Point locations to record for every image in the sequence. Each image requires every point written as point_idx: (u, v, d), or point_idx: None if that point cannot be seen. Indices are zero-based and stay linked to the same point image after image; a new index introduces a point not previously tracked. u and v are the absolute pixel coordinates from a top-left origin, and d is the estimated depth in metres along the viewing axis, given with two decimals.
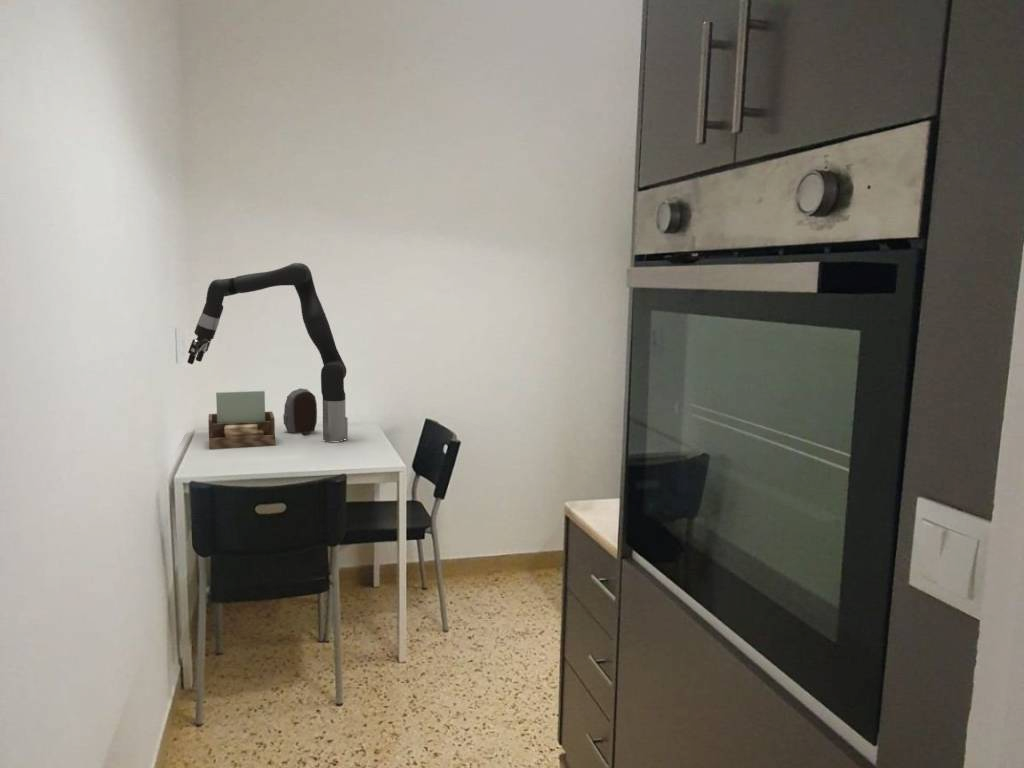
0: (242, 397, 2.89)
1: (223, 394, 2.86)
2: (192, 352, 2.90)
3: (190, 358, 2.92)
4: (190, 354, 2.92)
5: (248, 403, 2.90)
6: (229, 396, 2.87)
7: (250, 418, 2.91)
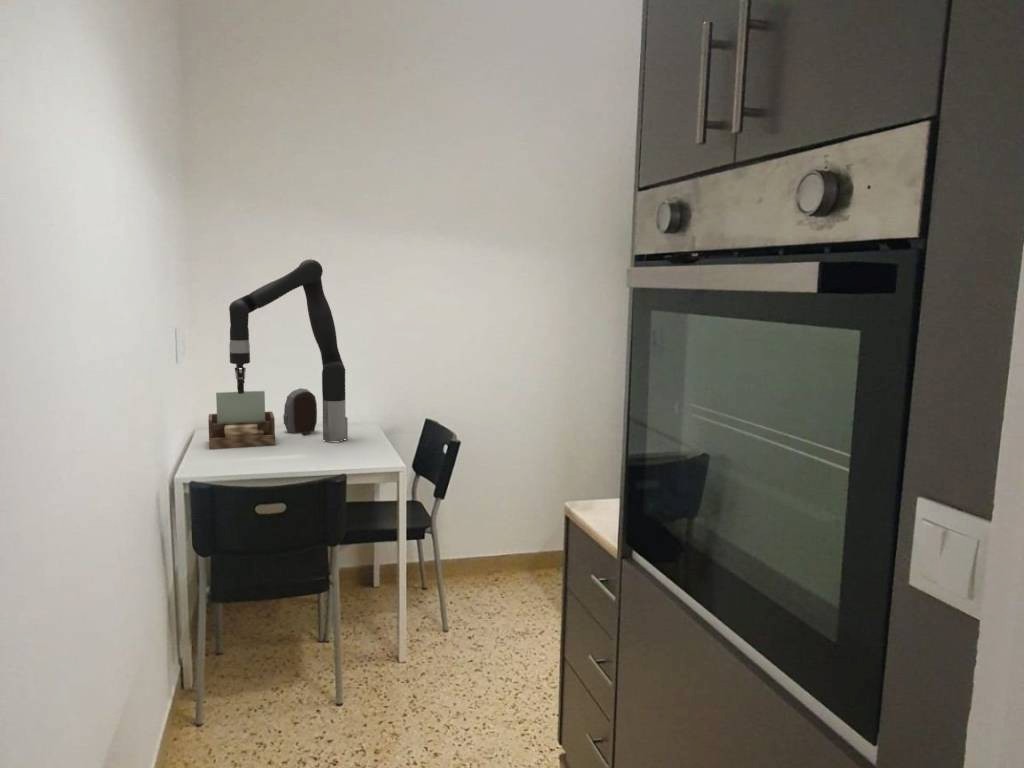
0: (242, 397, 2.89)
1: (223, 394, 2.86)
2: (241, 381, 2.82)
3: (240, 388, 2.84)
4: (239, 384, 2.83)
5: (248, 403, 2.90)
6: (229, 396, 2.87)
7: (250, 418, 2.91)
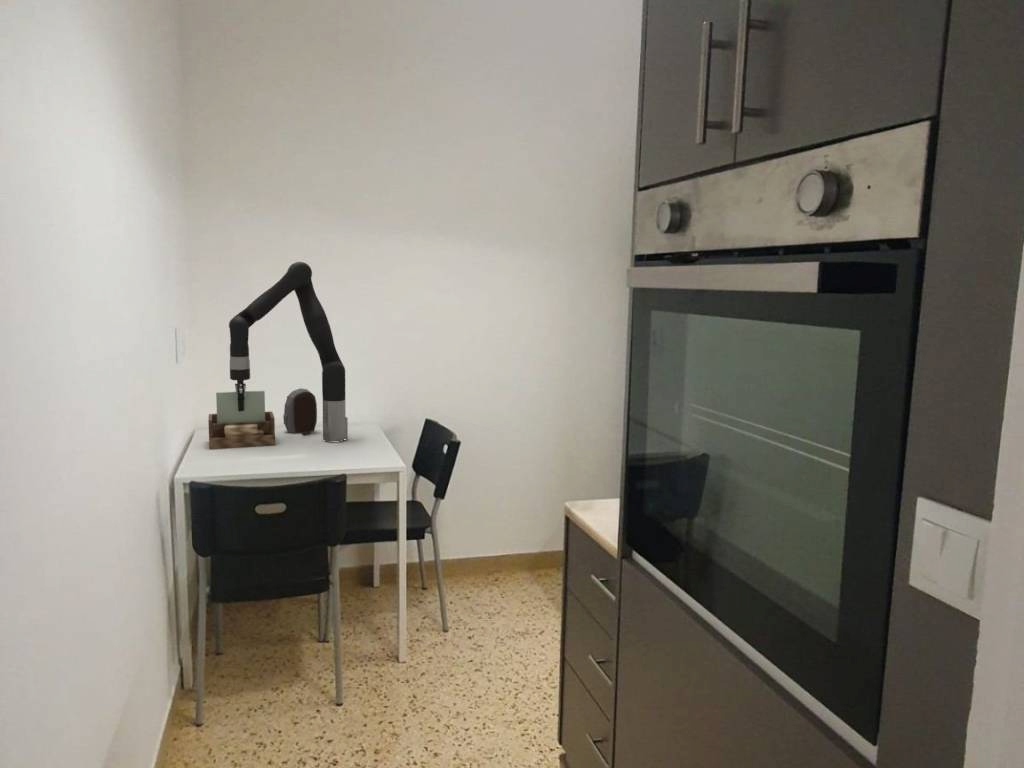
0: (242, 397, 2.89)
1: (223, 394, 2.86)
2: (242, 399, 2.86)
3: (240, 405, 2.88)
4: (239, 402, 2.87)
5: (248, 403, 2.90)
6: (229, 396, 2.87)
7: (250, 418, 2.91)
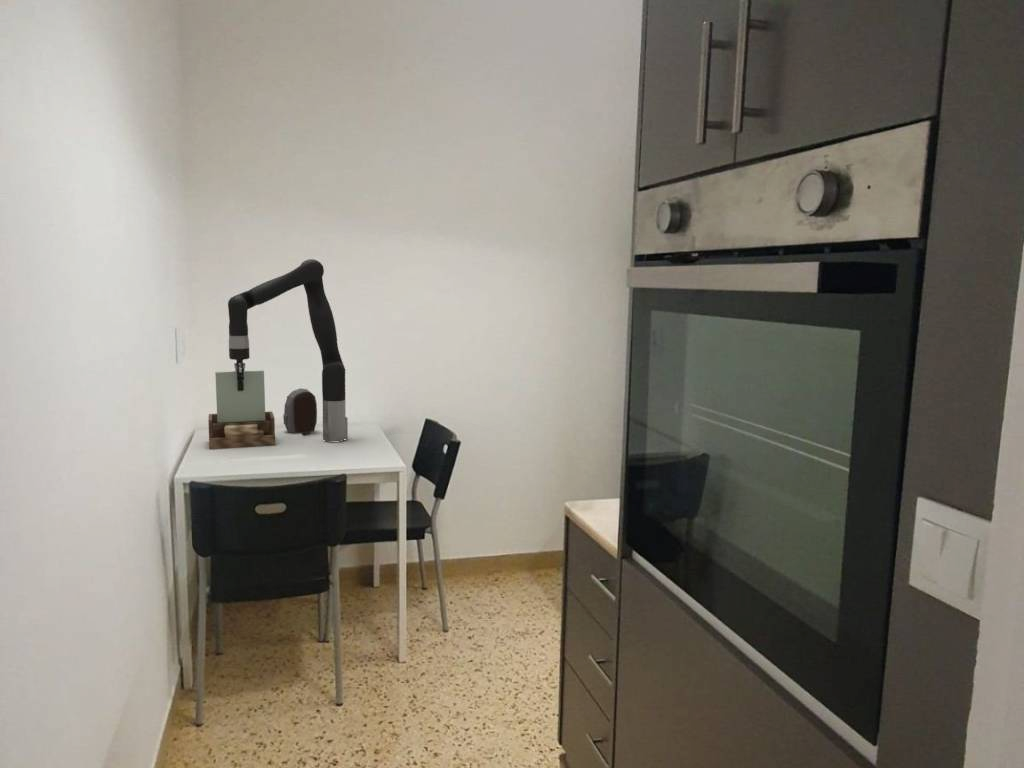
0: None
1: (222, 374, 2.85)
2: (241, 378, 2.85)
3: (240, 385, 2.87)
4: None
5: (248, 383, 2.89)
6: (228, 376, 2.86)
7: (250, 398, 2.90)
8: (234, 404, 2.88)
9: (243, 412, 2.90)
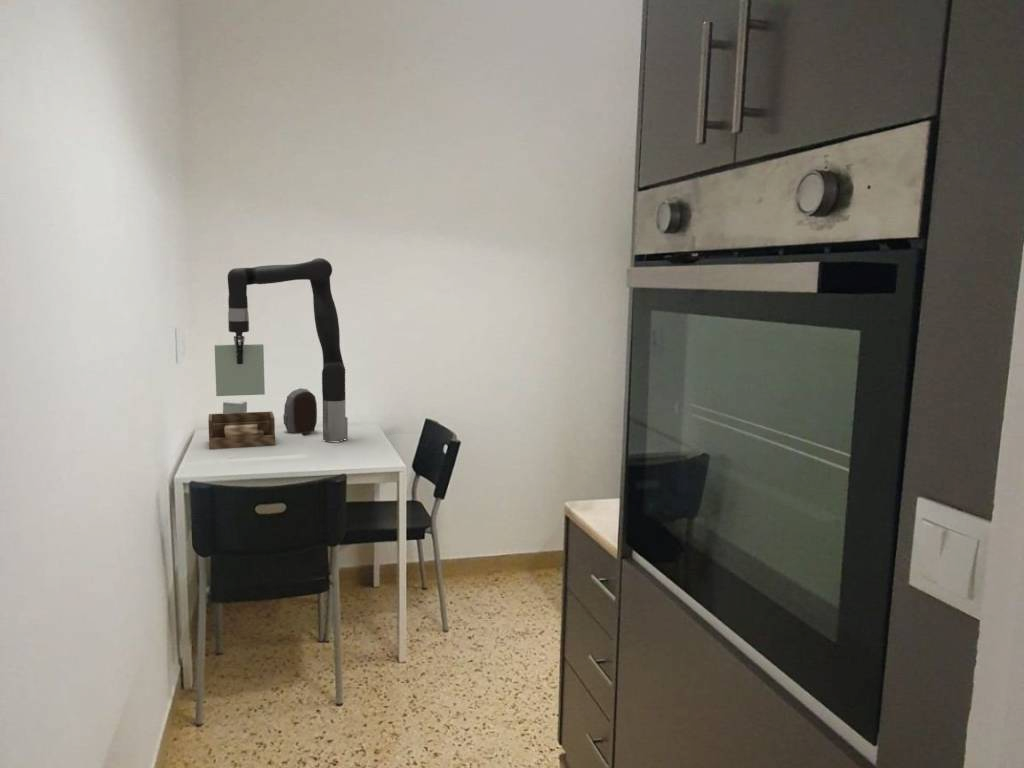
0: None
1: (221, 347, 2.83)
2: (240, 351, 2.83)
3: (239, 358, 2.85)
4: (238, 354, 2.84)
5: (247, 356, 2.87)
6: (228, 349, 2.84)
7: (249, 372, 2.88)
8: (233, 377, 2.87)
9: (242, 386, 2.88)
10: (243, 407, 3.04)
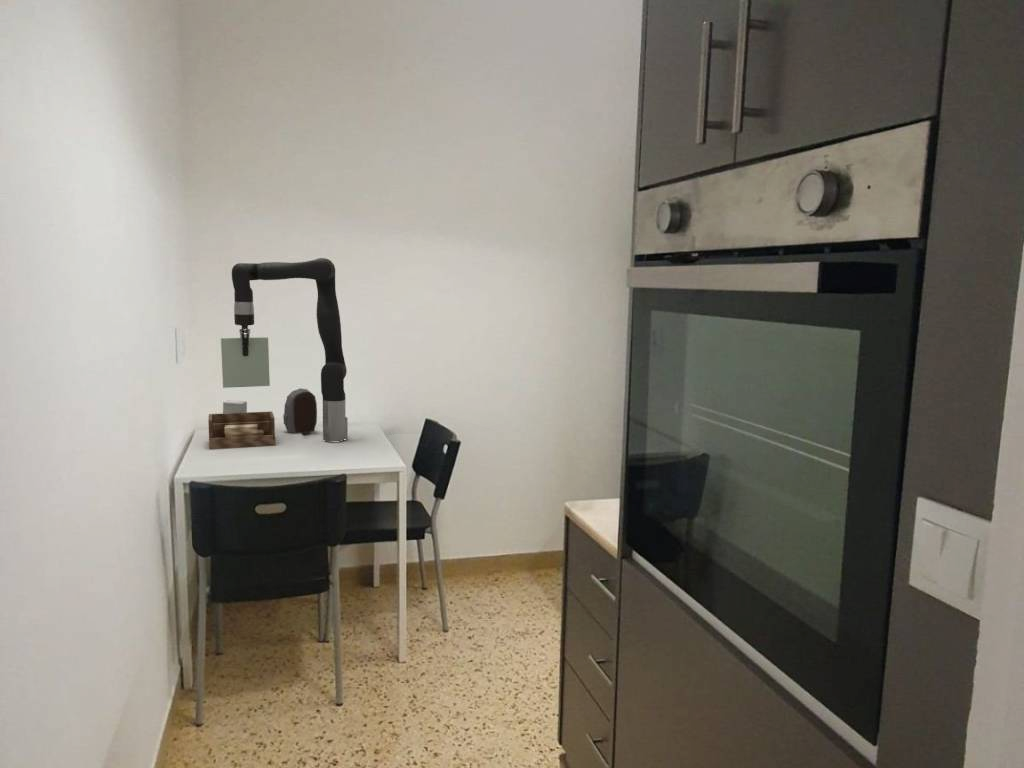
0: None
1: (228, 340, 2.93)
2: (246, 343, 2.93)
3: (245, 350, 2.94)
4: (243, 346, 2.94)
5: (252, 349, 2.97)
6: (233, 342, 2.94)
7: (254, 364, 2.98)
8: (239, 369, 2.96)
9: (248, 377, 2.98)
10: (243, 407, 3.04)
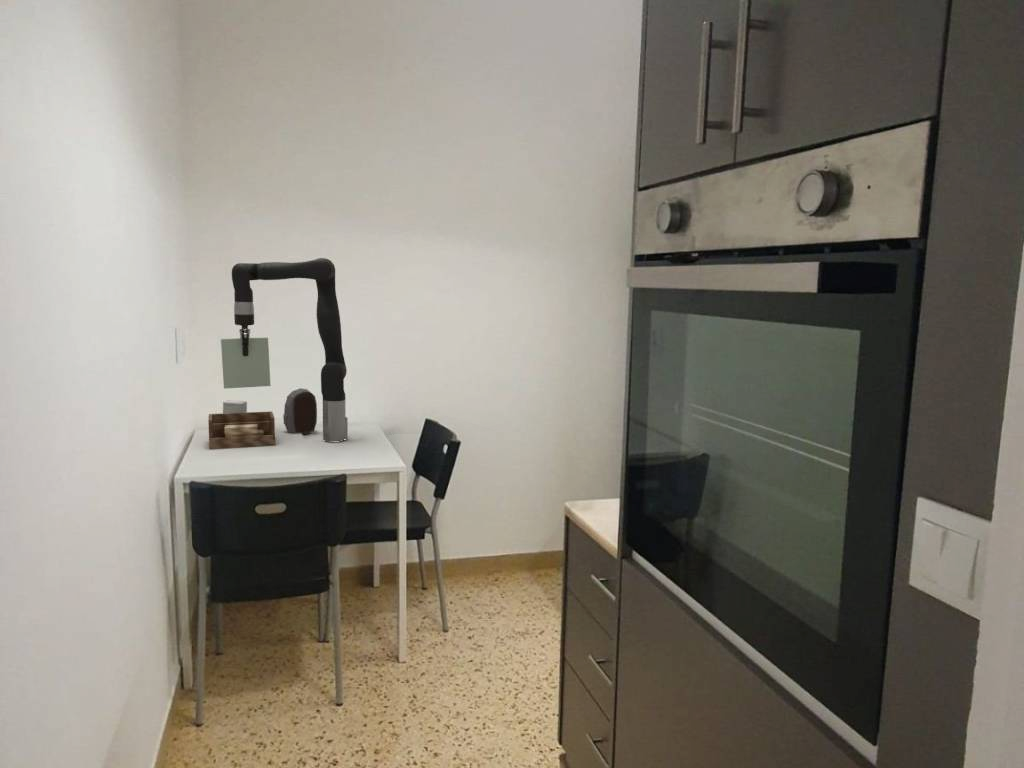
0: None
1: (228, 340, 2.93)
2: (246, 343, 2.93)
3: (245, 350, 2.94)
4: (243, 346, 2.94)
5: (252, 349, 2.97)
6: (233, 342, 2.94)
7: (255, 364, 2.98)
8: (240, 370, 2.96)
9: (249, 378, 2.98)
10: (243, 407, 3.04)
